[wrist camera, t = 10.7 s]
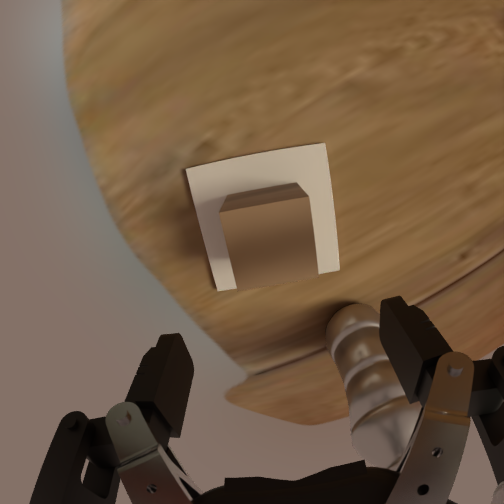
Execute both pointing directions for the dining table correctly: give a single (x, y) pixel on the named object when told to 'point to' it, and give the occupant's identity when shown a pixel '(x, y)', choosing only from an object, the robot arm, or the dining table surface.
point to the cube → (269, 236)
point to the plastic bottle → (370, 387)
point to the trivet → (256, 177)
